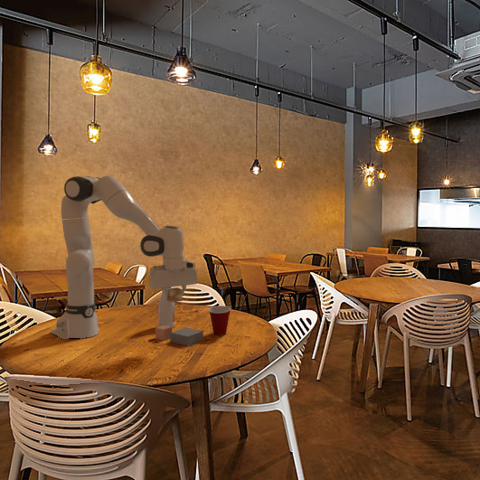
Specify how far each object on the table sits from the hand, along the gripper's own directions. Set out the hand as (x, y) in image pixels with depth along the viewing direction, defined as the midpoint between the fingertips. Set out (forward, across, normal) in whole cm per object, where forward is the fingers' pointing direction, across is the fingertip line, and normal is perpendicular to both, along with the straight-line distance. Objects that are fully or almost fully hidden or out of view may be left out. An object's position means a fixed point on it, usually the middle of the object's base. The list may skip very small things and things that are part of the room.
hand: (174, 296), depth 167 cm
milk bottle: (+20, +6, +27) cm, 34 cm away
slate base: (+20, +6, +1) cm, 21 cm away
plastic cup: (+21, +23, +4) cm, 31 cm away
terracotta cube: (+20, -2, +10) cm, 23 cm away
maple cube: (+2, 0, 0) cm, 2 cm away
